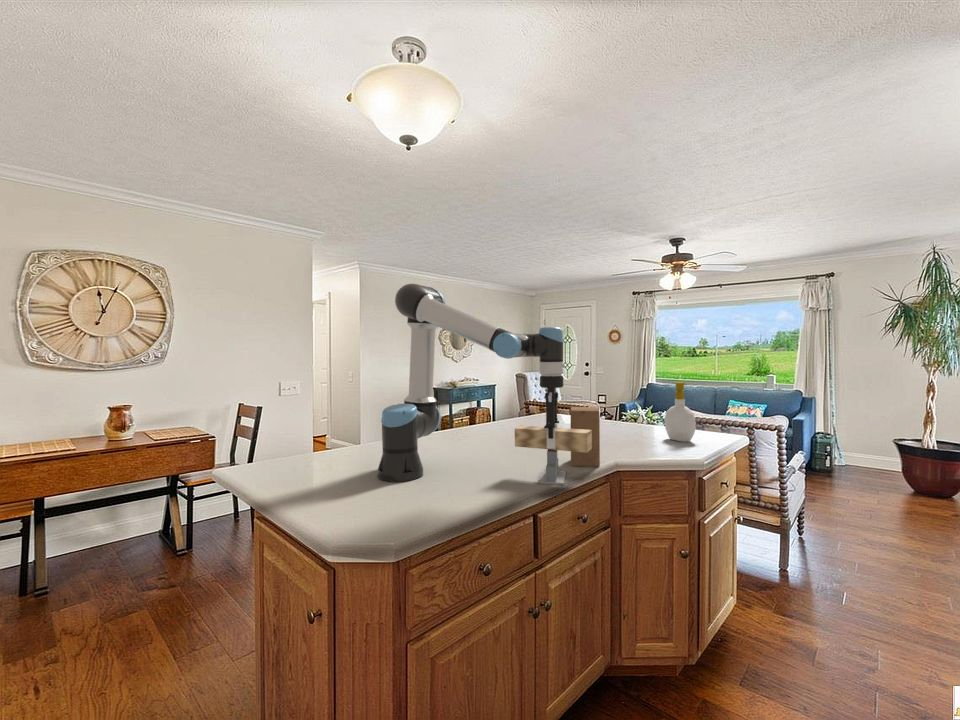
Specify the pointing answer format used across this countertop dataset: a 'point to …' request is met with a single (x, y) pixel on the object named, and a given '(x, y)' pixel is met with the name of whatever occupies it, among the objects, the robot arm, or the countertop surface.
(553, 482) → the bracket
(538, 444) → the beam
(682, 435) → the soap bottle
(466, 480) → the countertop surface
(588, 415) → the wooden block
